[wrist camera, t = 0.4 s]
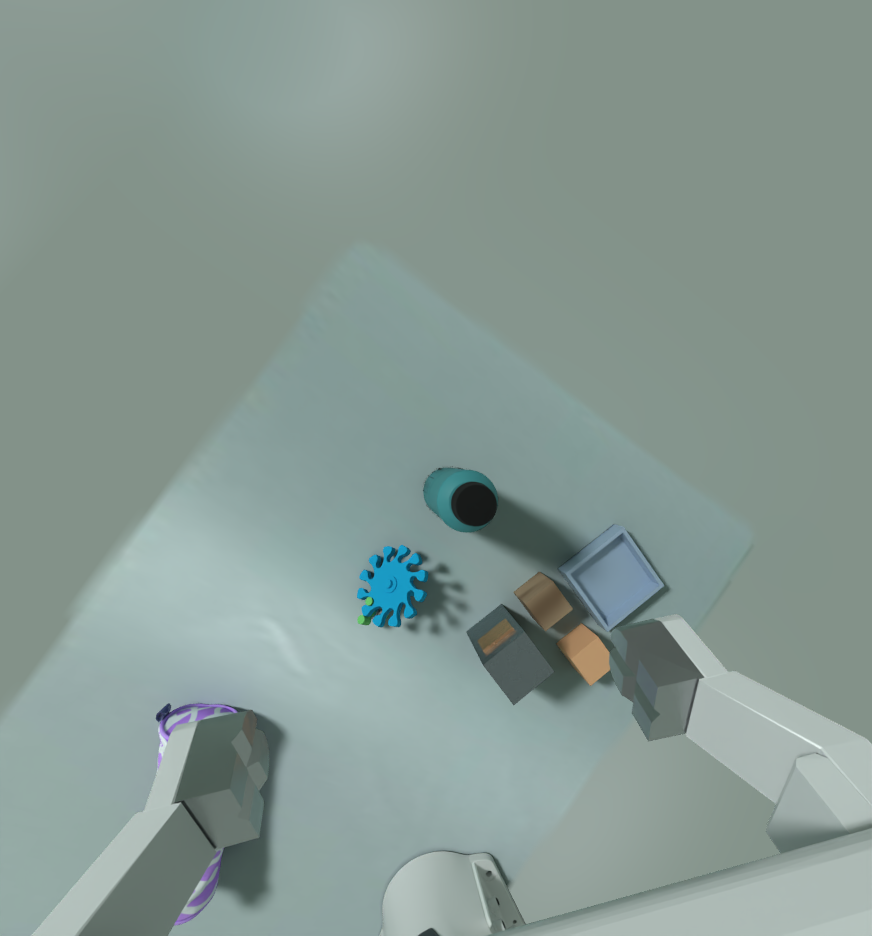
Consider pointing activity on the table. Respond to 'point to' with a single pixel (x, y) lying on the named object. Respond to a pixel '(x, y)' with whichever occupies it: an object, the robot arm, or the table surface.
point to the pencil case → (167, 724)
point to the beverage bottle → (461, 498)
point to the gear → (391, 588)
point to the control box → (509, 654)
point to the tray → (611, 577)
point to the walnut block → (543, 600)
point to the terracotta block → (585, 653)
